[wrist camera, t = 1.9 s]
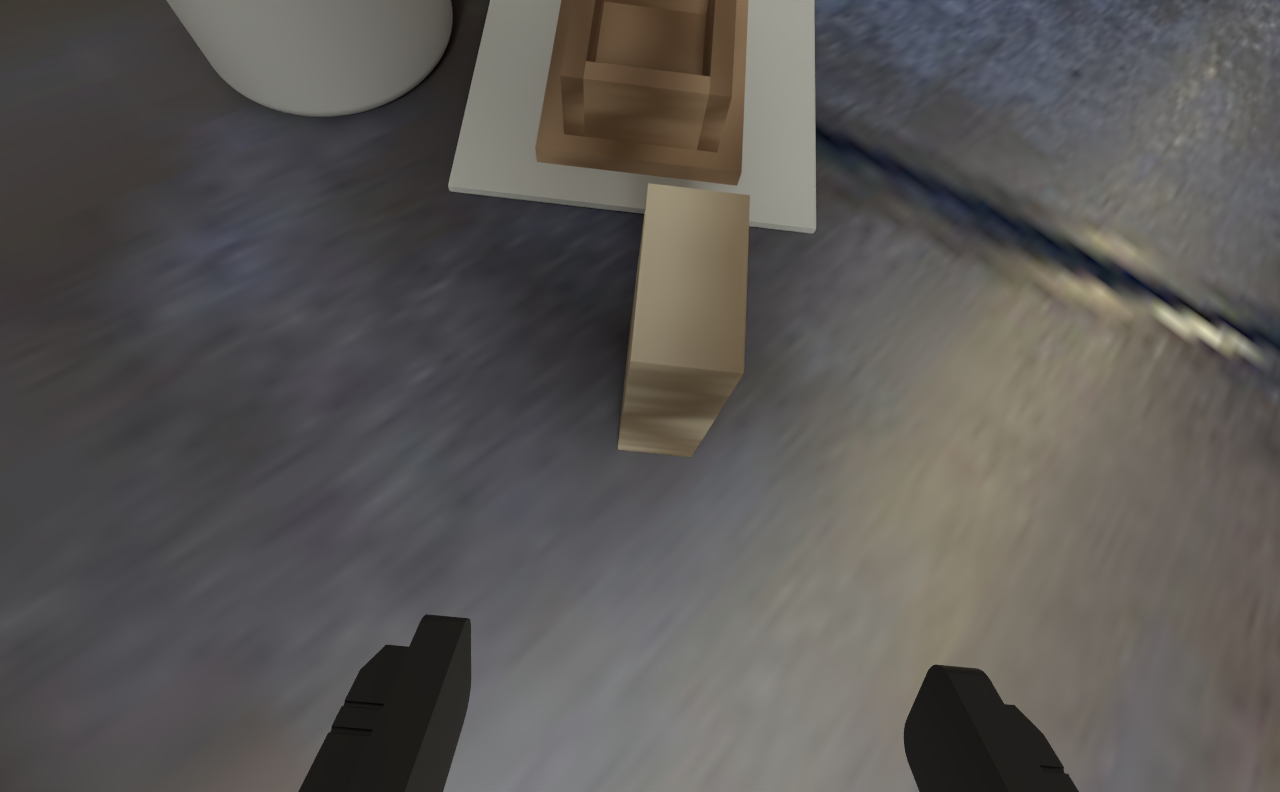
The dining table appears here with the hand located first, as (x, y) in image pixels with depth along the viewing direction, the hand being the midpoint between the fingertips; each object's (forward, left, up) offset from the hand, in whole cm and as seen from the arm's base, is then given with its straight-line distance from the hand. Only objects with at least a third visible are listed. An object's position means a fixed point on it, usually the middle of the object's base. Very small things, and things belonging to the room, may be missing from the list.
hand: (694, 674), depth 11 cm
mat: (-2, +28, -14) cm, 31 cm away
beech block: (0, +11, -14) cm, 18 cm away
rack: (-2, +28, -14) cm, 31 cm away
